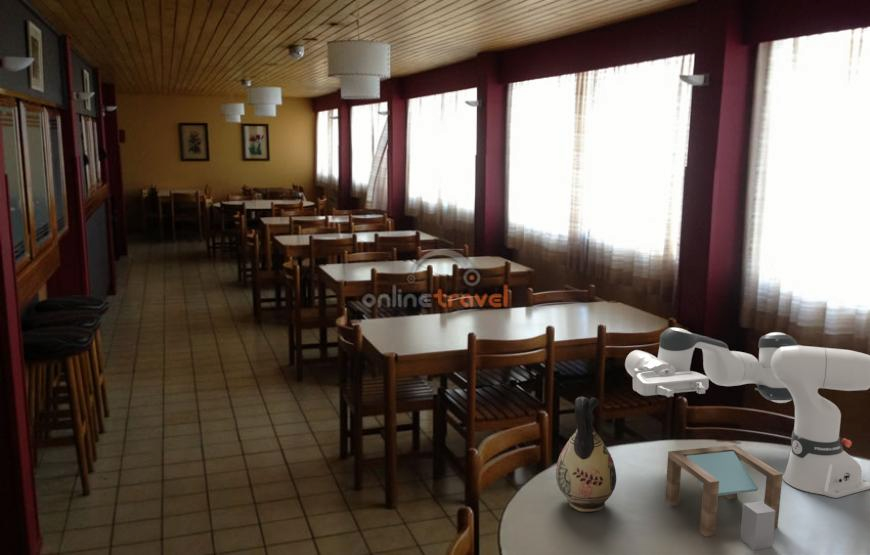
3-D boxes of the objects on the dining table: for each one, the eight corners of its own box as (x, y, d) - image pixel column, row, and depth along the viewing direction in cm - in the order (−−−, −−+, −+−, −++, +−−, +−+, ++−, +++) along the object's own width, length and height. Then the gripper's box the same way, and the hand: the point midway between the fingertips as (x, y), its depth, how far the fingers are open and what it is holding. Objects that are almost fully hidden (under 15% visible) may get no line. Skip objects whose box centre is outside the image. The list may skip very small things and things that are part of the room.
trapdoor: (732, 453, 193) (733, 451, 192) (757, 491, 183) (758, 488, 183) (684, 458, 189) (685, 455, 189) (707, 496, 180) (708, 494, 180)
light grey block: (775, 511, 170) (772, 546, 172) (761, 501, 175) (758, 536, 177) (757, 513, 169) (753, 549, 171) (743, 503, 174) (740, 538, 176)
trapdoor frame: (731, 493, 198) (735, 444, 196) (777, 527, 181) (782, 474, 178) (664, 501, 194) (668, 451, 191) (705, 536, 176) (709, 482, 174)
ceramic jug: (565, 485, 202) (569, 381, 197) (621, 498, 195) (626, 390, 190) (544, 512, 188) (548, 400, 182) (604, 526, 180) (610, 410, 175)
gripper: (692, 384, 213) (720, 400, 199) (627, 390, 208) (652, 407, 195) (693, 363, 212) (722, 378, 198) (628, 369, 207) (653, 384, 194)
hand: (687, 392), depth 197 cm, fingers open, 8 cm apart
